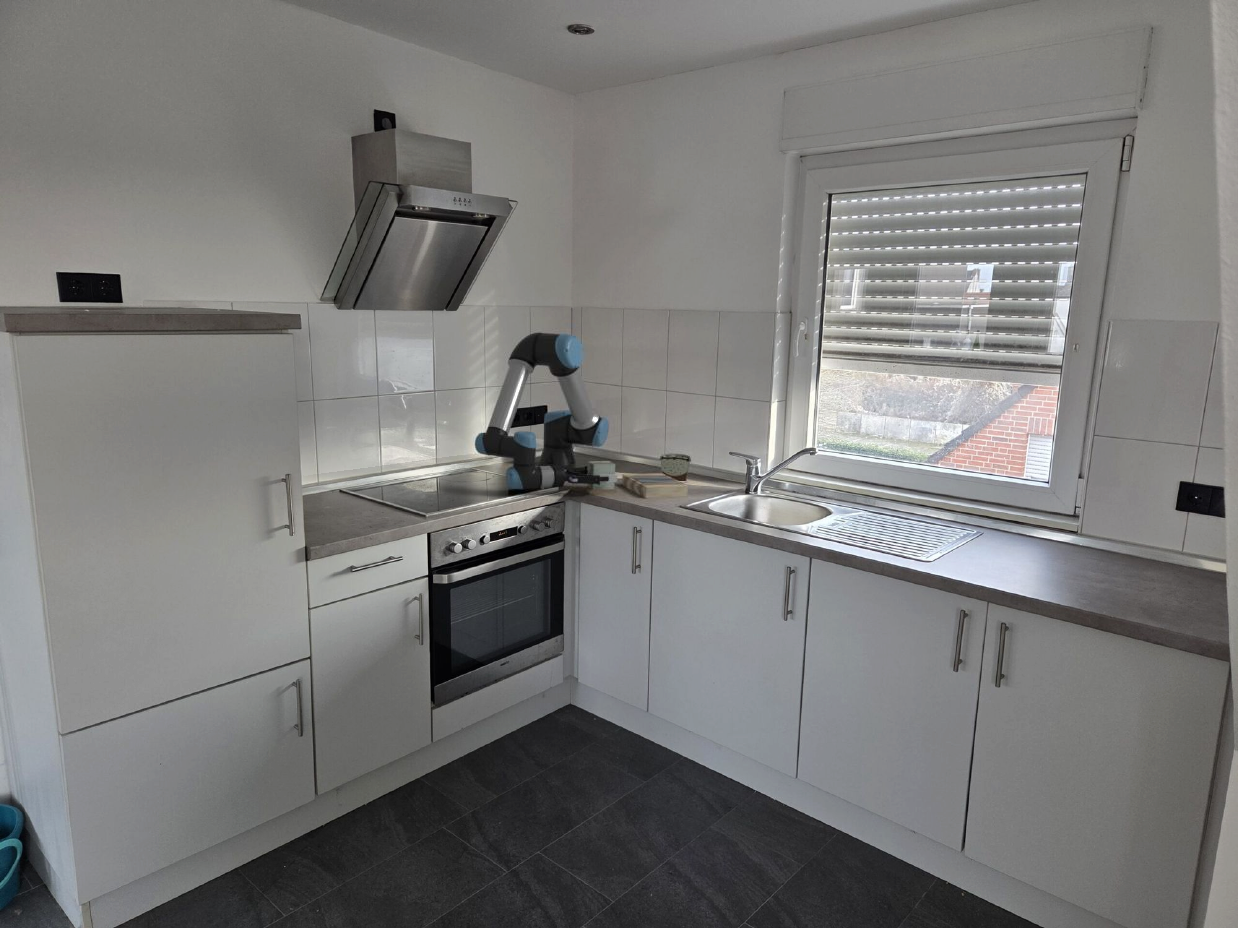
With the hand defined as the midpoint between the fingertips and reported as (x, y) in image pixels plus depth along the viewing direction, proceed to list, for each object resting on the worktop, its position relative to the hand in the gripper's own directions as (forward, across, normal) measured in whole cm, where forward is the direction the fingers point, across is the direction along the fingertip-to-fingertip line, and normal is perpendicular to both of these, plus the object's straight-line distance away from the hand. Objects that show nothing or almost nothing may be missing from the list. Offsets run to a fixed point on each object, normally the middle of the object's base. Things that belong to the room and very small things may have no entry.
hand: (610, 474), depth 290 cm
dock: (+16, +2, -6) cm, 18 cm away
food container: (+32, -14, -6) cm, 36 cm away
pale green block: (-4, 0, -6) cm, 7 cm away
